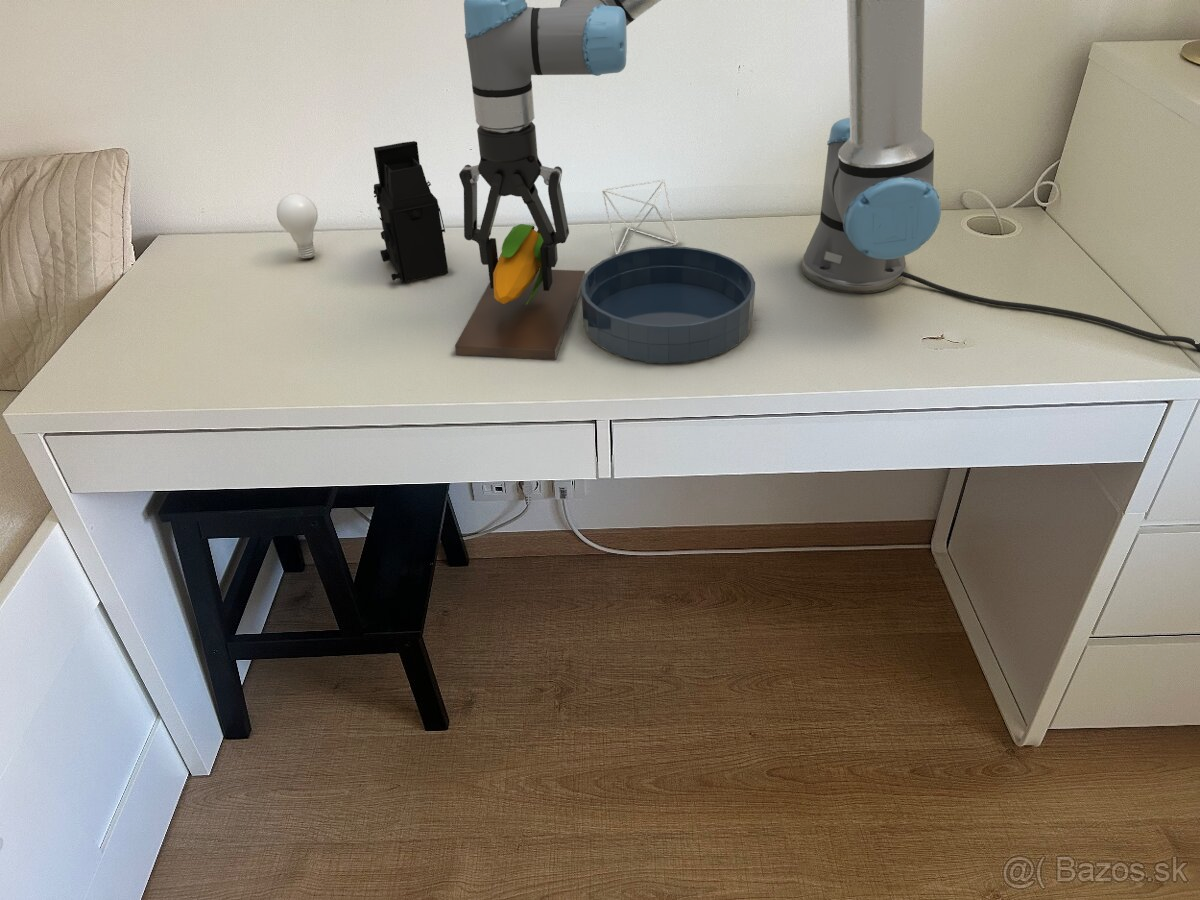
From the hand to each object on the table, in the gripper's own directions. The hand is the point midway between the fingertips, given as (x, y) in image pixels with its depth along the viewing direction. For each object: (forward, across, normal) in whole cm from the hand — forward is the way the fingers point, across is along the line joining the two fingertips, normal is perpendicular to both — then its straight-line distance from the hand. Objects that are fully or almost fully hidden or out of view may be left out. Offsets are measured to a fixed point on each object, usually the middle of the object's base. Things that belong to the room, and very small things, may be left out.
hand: (521, 285), depth 129 cm
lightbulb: (+5, +41, -16) cm, 44 cm away
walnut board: (+5, 0, 0) cm, 5 cm away
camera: (+5, +22, -15) cm, 27 cm away
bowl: (+5, -21, 0) cm, 22 cm away
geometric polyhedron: (+5, -14, -26) cm, 30 cm away
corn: (+1, 0, 0) cm, 1 cm away
